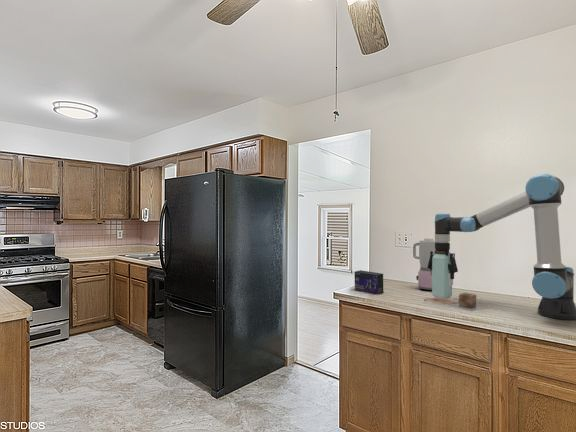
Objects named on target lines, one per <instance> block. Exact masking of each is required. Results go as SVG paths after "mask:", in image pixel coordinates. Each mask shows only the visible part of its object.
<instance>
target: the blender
mask: <svg viewBox="0 0 576 432" xmlns="http://www.w3.org/2000/svg"><path fill="white" fill-rule="evenodd" d="M435 242H436V241H435V240H434V238H424V239H423V240H419V242H415V243H414V244H413V246H412V249H413V250H412V254H413V256H412V257H413V258H414V259H417V260H419V264H420V268H419V270H418V273H417V275H416V278H415V279H416V281H417V282H418V283H417V284H418V285H417V288H418V290H419V291H421V289H422V290H428V291H429V290H431V291H432V276H431V270H430V269H429V268H428V263H429V259H430V251H435V250H436V249H435ZM417 246H418V255H417Z"/></svg>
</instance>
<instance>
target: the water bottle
mask: <svg viewBox="0 0 576 432" xmlns="http://www.w3.org/2000/svg"><path fill="white" fill-rule="evenodd" d="M448 264H450V265H451V261H450V257H449V255H448V256H446V255H445V251H440V250H436V253H435V255H434V256H433V257H432V290H431V294H432V296H433V298H434V297H436V298H442V299H451V297H452V295H453V285H450V286H449V285H448V273H449V272H450V271H449V269H448Z"/></svg>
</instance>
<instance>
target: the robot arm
mask: <svg viewBox="0 0 576 432" xmlns="http://www.w3.org/2000/svg"><path fill="white" fill-rule="evenodd" d="M564 192H565V185H564V182H563V181H562V180H561V179H560V178H558V177H557V176H554V175H551V174H548V173H539V174H536V175H534V176H532V177H531V178H529V179H528V180H527V182H526V183H525V191H524V192H522V193H520V194H517V195H515V196H513V197H511V198H509V199H506V200H504V201H502V202H499V203H498V204H495V205H493V206H491V207H489V208H486V209H485V210H483V211H481V212H478V213H476V214H474V215H472V216H469V217H468V216H465V217H464V216H460V217H453V216H452V217H451V214H450V213H436V214H435V216H434V241H436V242H435V249H436V250H440V251H445V255H446V256H448V255H449V257H450V261H451V265H450V264H448V269H449V271H450V272H449V273H448V285H449V286H450V285H452V286H453V285H454V279H455V273H458V272H459V270H458V265H457V262H456V253H455V252H454V253H453V252H450V249H451V243H450V242H451V232H458V233H472V232H477V231H479V230H480V229H481V228H485V226H489V225H491V224H493V223H496V222H498V221H500V220H503V219H505V218H507V217H509V216H510V217H511V216H512V215H514V214H517V213H519V212H522V211H524V210H526V209H529V208H531V209H533V217H534V218H533V219H534V231H535V232H534V233H535V247H536V261H537V262H536V263H535V264H534V265H533V277H532V280H531V285H532V289H533V291H535V293H536V294H538V295H539V296H540V297H541V300H540V302H539V303H538V304H539V305H538V307H537V314H538V315H540V316H543V317H545V318H549V319H556V320H565V321H576V304H575V301H574V294H575V291H574V289H575V288H574V285H575V283H574V277H575V273H574V268H573V267H570V266H566V265H565V264H564V263H562V255H561V253H562V251H561V241H560V240H561V239H560V225H559V210H558V208H559V207H560V205H562V195H563V194H564ZM436 250H435V251H430V259H429V263H428V268H429V269H430V270H431V276H432V257H433V256H434V255H435V253H436Z"/></svg>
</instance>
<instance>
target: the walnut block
mask: <svg viewBox="0 0 576 432" xmlns="http://www.w3.org/2000/svg"><path fill="white" fill-rule="evenodd" d="M458 301H459V302H458V303H459V306H460V307H465V308H471V309H472V308H474V307H476V305H477V294H476V293H469V292H462V293H459V294H458Z"/></svg>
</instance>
